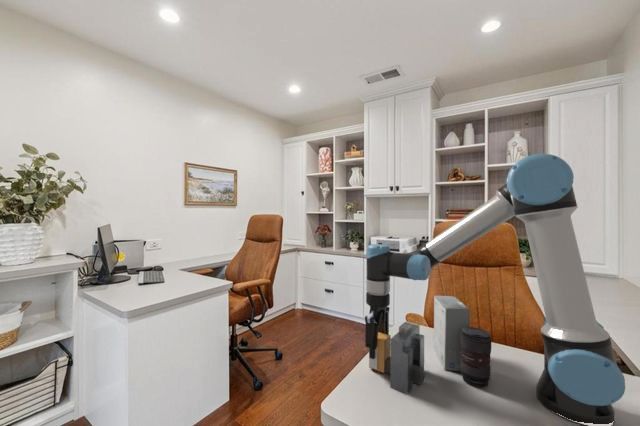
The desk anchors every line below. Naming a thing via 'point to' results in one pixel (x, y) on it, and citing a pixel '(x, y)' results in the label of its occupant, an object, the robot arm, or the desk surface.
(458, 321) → the hard drive box
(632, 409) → the desk surface
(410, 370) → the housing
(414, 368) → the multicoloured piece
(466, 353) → the camera lens
